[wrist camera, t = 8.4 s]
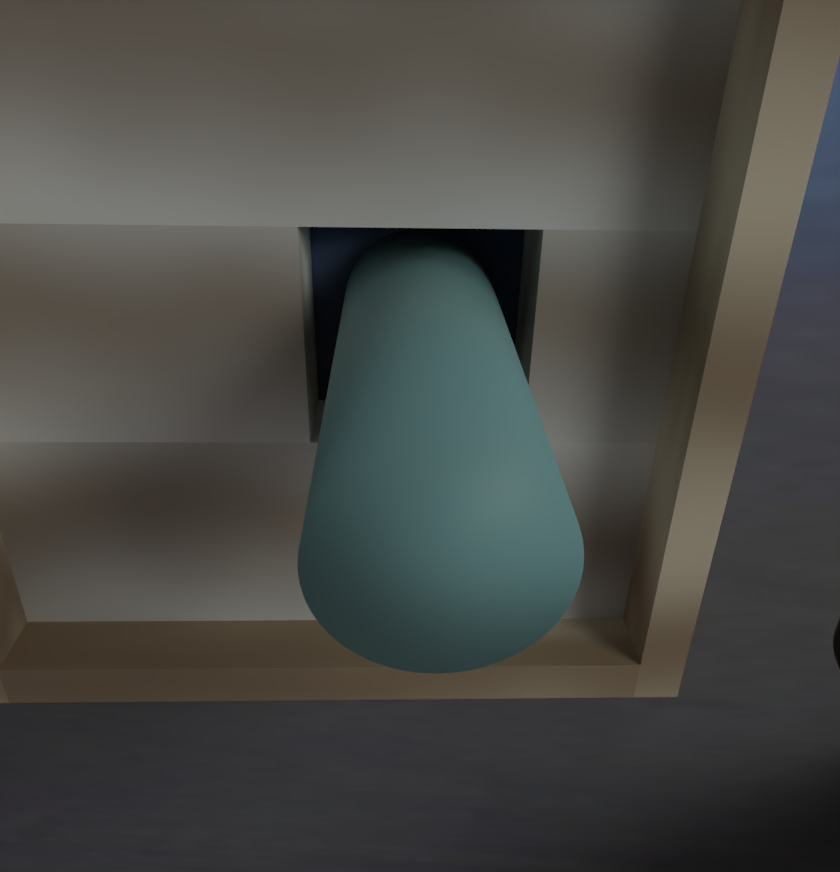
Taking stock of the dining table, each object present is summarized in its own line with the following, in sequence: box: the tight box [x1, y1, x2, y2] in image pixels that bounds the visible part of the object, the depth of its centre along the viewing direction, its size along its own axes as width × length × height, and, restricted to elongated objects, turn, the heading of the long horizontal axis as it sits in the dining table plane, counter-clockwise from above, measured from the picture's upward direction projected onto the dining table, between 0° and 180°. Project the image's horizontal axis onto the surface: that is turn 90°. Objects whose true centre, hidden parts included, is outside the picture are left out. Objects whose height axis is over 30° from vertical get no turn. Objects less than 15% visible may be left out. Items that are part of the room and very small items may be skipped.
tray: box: [0, 0, 840, 703], centre depth 15 cm, size 16×16×4 cm
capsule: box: [298, 229, 584, 674], centre depth 12 cm, size 3×3×9 cm
